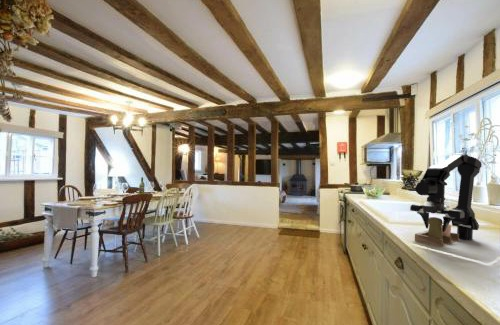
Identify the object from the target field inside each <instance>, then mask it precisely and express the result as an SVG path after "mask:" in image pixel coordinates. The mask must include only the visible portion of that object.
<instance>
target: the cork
mask: <svg viewBox="0 0 500 325" xmlns="http://www.w3.org/2000/svg"><path fill="white" fill-rule="evenodd" d="M428 223H429V226H428V230H427V231H428V236H430V237H434V238H439V239H443V237H442V230H441V225H442V223H443V220H442V219H441V218H440V217H437V216H435V217H434V216H431V217H430V216H429V219H428Z"/></svg>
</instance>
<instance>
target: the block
mask: <svg viewBox="0 0 500 325" xmlns="http://www.w3.org/2000/svg"><path fill="white" fill-rule="evenodd" d="M442 228H443V223H442V225H441V230H442ZM451 230H452V224H450V223H449V224H448V226H447V228H446V230H445V232H443V230H442V235H446V236H450V233H452V231H451Z"/></svg>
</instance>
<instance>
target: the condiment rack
mask: <svg viewBox="0 0 500 325" xmlns="http://www.w3.org/2000/svg"><path fill="white" fill-rule="evenodd" d="M442 237H443V239H439V238H434V237H430V236H428V230H424V231H420V232H417V233H414V241H415V242H419V243H422V244H423V243H424V244H427V245H430V246H435V247H439V248H444V247H446V246H448V245H450V244H451V245H452V244H453V243H456V242H458V241H459V240H460V239H459V234H457V232H451V233H450V236H446V235H442Z"/></svg>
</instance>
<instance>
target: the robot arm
mask: <svg viewBox="0 0 500 325" xmlns="http://www.w3.org/2000/svg"><path fill="white" fill-rule="evenodd" d="M456 168H457V170H456V171H457V172H458V173H459V176H460V182H459V191H458V201H457V205H456V206H455V207H453V208H452V209H448V210H446V207H445V200H446V197H445V193H446V192H445V191H446V190H445V188H446V186H448V183H447V182H446V180H447V179H448V178H449V177H450V176H451V174H450V173H451V172H452V171H454V170H455V169H456ZM481 168H482V162H481V160H479V159H478V158H477V157H474V156H471V155H468V154H466V153H454V154H452V155H451V156H450V157H449V158H447V159H446V160H444V161H443V162H442V163H440V164H436V165H435V164H434V165H432V166H431V165H430V166H429V167H428V168H426V171H425V172H424V175H422V178H421V179H420V180H419V182H418V183H417V184H416V185H415V187H414V188H415V192H416V193H417V194H418V195H420V196H426V201H424V202H423V203H422V204H417V203H415V204H412V205H410V207H409V208H410V209H409V210H410V211H411V212H416V214H418V215H419V216H420V217H421V218H422V221H423V224H424V226H425V229H428V230H429V225H430V224H429V223H428V219H429V218H430V213H431V214H441V215H444V216H442V218H443V220H442V221H443V228H442V230H443V232H445V230H446V228H447V226H448V224H449V225H450V223H451V227H452V226H453V227H456V234H459V240H463V241H473V236H474V235H473V233H474V231H478V230H479V228H480V224H479V222H478V220H477V219H476V214H475V212H474V210H473V209H472V201H473V200H472V199H473V193H474V192H473V191H474V183H475V177H476V176H477V175H478V174H479V173H480V170H481Z"/></svg>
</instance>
